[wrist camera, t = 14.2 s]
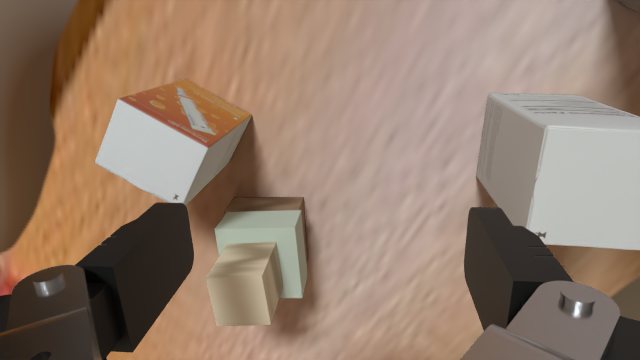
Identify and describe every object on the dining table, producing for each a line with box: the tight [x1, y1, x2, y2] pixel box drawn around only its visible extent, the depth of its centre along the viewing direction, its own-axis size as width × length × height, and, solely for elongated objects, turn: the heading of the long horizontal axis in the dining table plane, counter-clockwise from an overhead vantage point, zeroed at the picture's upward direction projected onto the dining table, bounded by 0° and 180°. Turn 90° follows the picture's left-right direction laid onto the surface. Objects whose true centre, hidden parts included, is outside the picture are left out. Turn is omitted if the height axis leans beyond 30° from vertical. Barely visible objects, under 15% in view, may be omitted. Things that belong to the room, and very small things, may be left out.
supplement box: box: [477, 93, 640, 250], centre depth 36 cm, size 9×9×15 cm
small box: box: [95, 79, 252, 205], centre depth 40 cm, size 8×6×13 cm
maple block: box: [205, 242, 284, 326], centre depth 40 cm, size 5×5×6 cm
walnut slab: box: [224, 197, 308, 264], centre depth 48 cm, size 8×8×4 cm
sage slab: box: [214, 210, 308, 298], centre depth 45 cm, size 8×8×4 cm
